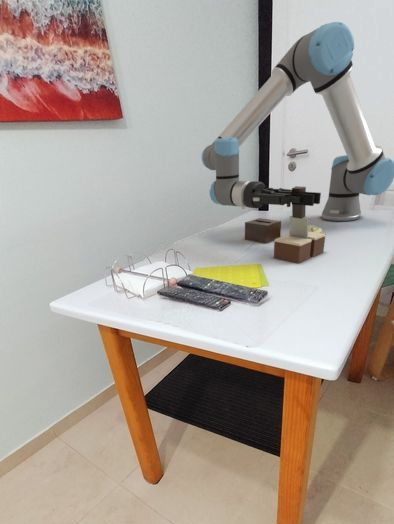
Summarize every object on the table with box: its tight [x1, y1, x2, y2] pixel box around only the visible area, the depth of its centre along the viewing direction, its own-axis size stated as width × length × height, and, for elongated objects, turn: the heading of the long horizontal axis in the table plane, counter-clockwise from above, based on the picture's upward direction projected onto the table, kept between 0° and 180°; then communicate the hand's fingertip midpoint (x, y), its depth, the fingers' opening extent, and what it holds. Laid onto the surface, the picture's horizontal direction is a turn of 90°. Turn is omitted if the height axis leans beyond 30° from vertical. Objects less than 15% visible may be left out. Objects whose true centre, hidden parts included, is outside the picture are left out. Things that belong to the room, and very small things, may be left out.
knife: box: [289, 185, 309, 239], centre depth 97 cm, size 2×6×18 cm, turn 40°
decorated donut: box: [288, 224, 323, 234], centre depth 119 cm, size 10×11×4 cm
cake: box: [288, 231, 326, 258], centre depth 104 cm, size 6×9×6 cm, turn 41°
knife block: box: [244, 217, 282, 244], centre depth 121 cm, size 8×10×6 cm
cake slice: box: [273, 234, 312, 264], centre depth 100 cm, size 6×9×6 cm, turn 41°
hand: (316, 199), depth 90 cm, fingers closed on knife, 2 cm apart
